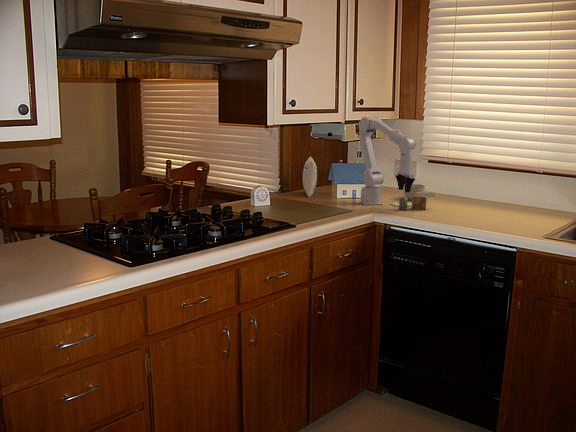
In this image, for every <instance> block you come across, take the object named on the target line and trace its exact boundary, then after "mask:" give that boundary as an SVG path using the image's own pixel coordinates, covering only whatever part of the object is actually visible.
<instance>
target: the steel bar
mask: <svg viewBox="0 0 576 432" xmlns="http://www.w3.org/2000/svg"><path fill="white" fill-rule="evenodd" d="M414 197H425V198H435V197H436V192H433V191H425V192H414Z"/></svg>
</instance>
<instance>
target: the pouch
mask: <svg viewBox="0 0 576 432" xmlns="http://www.w3.org/2000/svg"><path fill="white" fill-rule="evenodd" d="M317 181H318V168H317V164H316V162H315V161H314V159H313V157H312V156H311V155H310V156H309V157H308V158H307V160H306V161H305V162H304V165H303V170H302V186H303V190H304V192H305V193H306V196H307V197H308V198H310V197H312V195H313V194H314V191H315V189H316V187H317V183H318V182H317Z"/></svg>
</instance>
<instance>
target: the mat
mask: <svg viewBox="0 0 576 432" xmlns="http://www.w3.org/2000/svg"><path fill="white" fill-rule="evenodd" d="M390 205H392V206H393V207H396V208H399V202H390ZM409 207H412V203H411V202H409V201H408V203H407V208H409Z"/></svg>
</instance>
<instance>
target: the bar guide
mask: <svg viewBox="0 0 576 432" xmlns="http://www.w3.org/2000/svg"><path fill="white" fill-rule="evenodd" d="M427 199H428V197H414V196H413V198H412V201H411V202H412V203H411V204H412V206H411V209H412V210H415V211H426V210H427V209H426V208H427Z"/></svg>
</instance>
